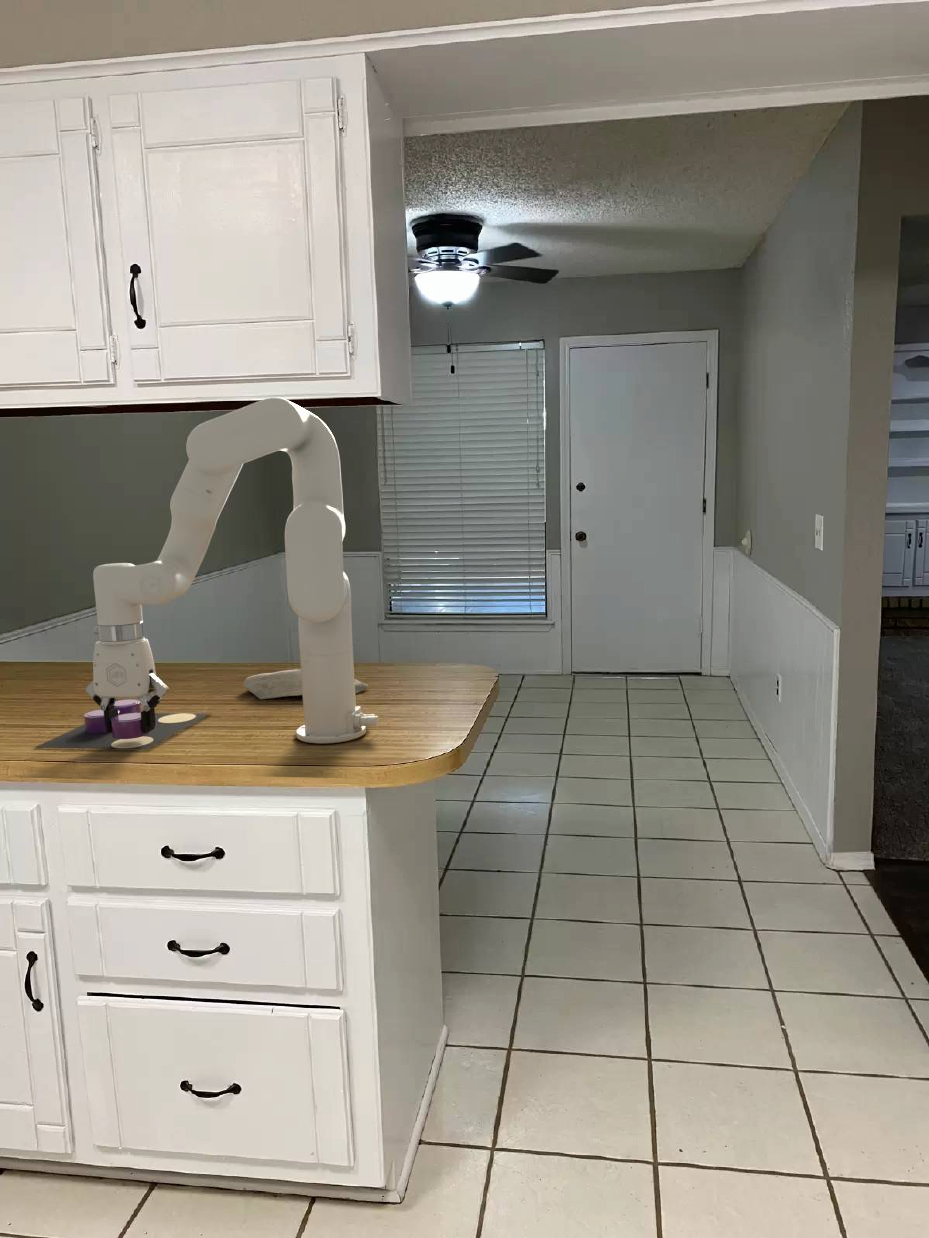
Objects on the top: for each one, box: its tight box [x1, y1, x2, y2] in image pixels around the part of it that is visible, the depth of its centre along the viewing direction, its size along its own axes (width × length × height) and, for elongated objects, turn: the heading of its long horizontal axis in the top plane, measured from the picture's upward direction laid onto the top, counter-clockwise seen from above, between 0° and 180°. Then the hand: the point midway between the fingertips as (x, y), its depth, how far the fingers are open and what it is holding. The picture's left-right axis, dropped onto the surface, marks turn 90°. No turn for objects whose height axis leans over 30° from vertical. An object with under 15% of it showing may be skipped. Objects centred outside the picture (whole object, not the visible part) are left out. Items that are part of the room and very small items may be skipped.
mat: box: [36, 712, 210, 751], centre depth 172 cm, size 22×24×1 cm
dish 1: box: [83, 709, 120, 734], centre depth 173 cm, size 6×6×3 cm
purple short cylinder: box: [111, 713, 150, 739], centre depth 163 cm, size 6×6×3 cm
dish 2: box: [114, 698, 142, 715], centre depth 180 cm, size 6×6×3 cm
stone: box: [242, 668, 369, 700], centre depth 199 cm, size 28×7×15 cm
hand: (130, 729), depth 163 cm, fingers closed on purple short cylinder, 6 cm apart
